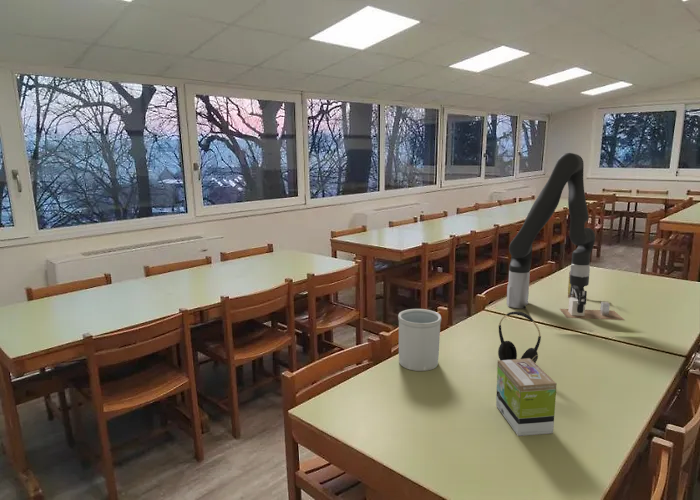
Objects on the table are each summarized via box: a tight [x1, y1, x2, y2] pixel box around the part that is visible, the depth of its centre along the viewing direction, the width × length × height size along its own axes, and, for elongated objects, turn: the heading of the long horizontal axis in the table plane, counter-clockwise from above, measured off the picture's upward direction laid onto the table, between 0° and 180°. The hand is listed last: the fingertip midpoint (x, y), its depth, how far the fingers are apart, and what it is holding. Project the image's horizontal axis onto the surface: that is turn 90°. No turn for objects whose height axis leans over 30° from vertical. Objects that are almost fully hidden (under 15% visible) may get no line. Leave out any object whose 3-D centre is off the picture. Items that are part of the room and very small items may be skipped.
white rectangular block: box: [567, 297, 586, 316], centre depth 203 cm, size 5×5×7 cm
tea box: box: [495, 358, 557, 437], centre depth 125 cm, size 15×10×15 cm, turn 5°
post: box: [599, 301, 610, 316], centre depth 201 cm, size 3×3×6 cm
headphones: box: [497, 310, 542, 364], centre depth 154 cm, size 9×15×20 cm, turn 43°
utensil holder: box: [397, 308, 442, 372], centre depth 160 cm, size 15×15×18 cm
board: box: [559, 308, 625, 321], centre depth 202 cm, size 23×12×2 cm, turn 80°
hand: (576, 309), depth 203 cm, fingers open, 8 cm apart
